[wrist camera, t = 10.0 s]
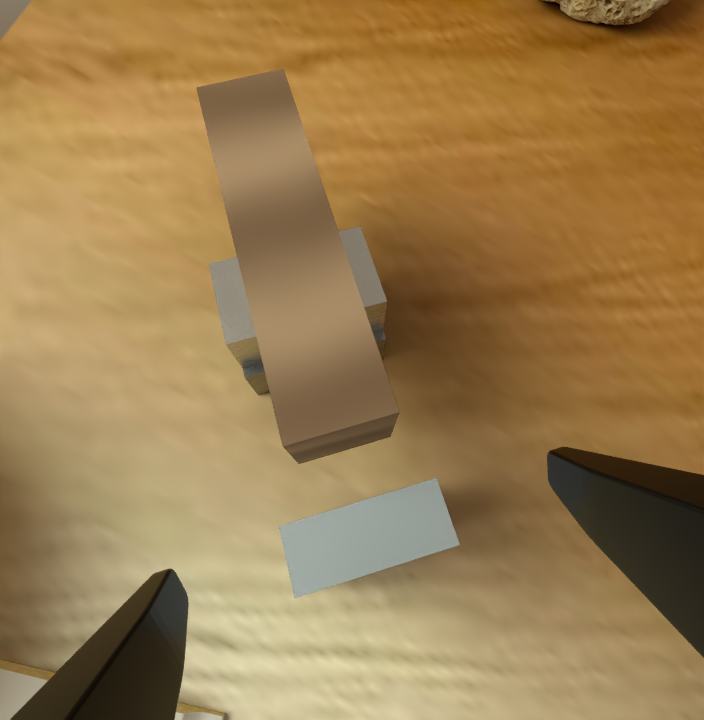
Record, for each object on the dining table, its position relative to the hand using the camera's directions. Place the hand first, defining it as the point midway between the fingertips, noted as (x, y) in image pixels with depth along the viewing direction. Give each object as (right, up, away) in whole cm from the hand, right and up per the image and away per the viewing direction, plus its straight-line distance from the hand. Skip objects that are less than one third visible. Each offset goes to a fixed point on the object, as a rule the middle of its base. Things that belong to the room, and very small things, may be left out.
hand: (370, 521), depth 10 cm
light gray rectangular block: (0, -5, +11) cm, 12 cm away
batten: (-3, +7, +9) cm, 12 cm away
